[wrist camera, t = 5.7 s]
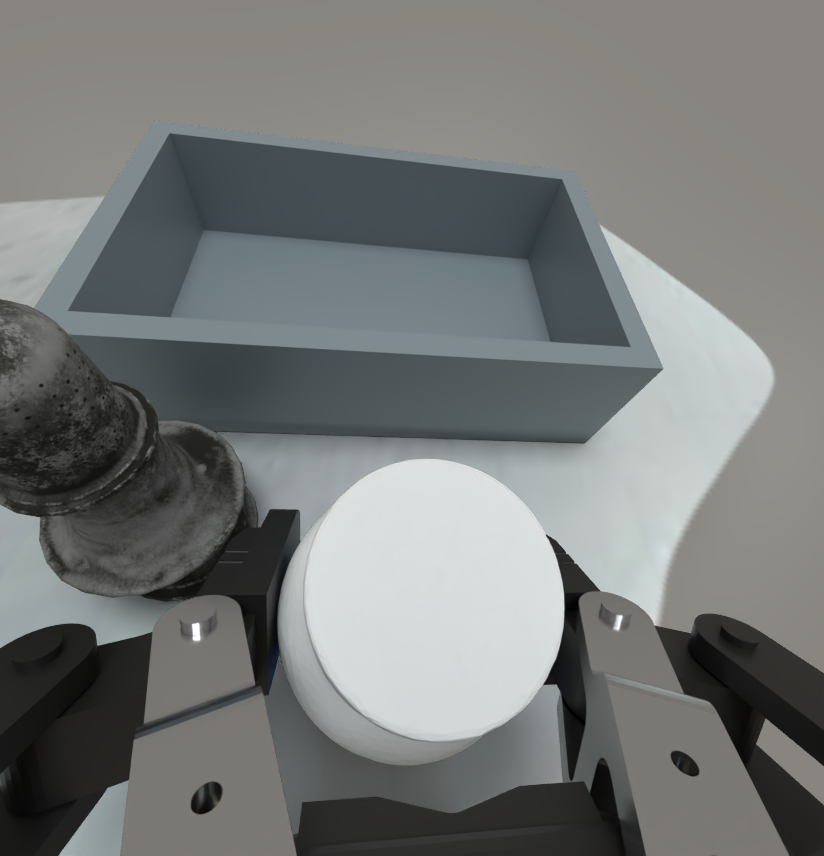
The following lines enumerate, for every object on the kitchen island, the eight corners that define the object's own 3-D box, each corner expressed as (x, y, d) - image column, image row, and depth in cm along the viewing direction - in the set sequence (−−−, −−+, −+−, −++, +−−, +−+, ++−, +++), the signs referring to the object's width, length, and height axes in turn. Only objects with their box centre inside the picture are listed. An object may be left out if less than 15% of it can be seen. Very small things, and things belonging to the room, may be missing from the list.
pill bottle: (312, 741, 12) (232, 908, 4) (299, 565, 15) (234, 440, 7) (476, 694, 13) (679, 747, 5) (438, 539, 16) (532, 406, 8)
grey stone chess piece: (75, 608, 14) (-719, 461, 4) (137, 458, 17) (-202, 146, 7) (247, 612, 14) (-20, 497, 4) (278, 467, 17) (165, 191, 7)
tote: (118, 428, 17) (19, 331, 12) (195, 233, 24) (153, 120, 19) (584, 443, 20) (663, 368, 15) (533, 263, 27) (575, 171, 22)
